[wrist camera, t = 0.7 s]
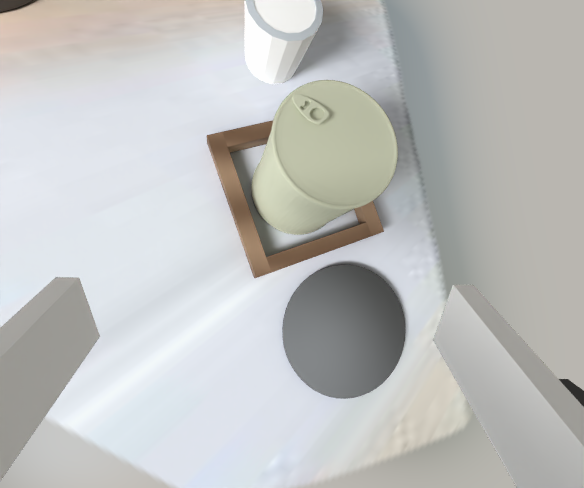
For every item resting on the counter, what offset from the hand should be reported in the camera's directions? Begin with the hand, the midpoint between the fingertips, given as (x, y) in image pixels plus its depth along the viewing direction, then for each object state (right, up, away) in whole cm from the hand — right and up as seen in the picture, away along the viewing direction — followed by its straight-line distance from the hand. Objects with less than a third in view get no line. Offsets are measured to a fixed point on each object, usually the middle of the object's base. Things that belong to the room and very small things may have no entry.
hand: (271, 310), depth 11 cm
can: (+1, +8, +21) cm, 22 cm away
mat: (+6, -6, +20) cm, 22 cm away
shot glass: (-2, +22, +22) cm, 31 cm away
